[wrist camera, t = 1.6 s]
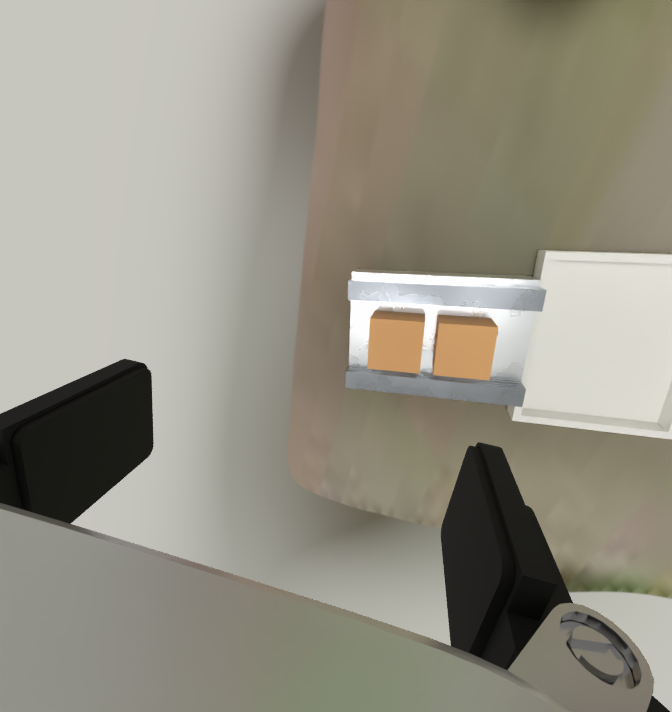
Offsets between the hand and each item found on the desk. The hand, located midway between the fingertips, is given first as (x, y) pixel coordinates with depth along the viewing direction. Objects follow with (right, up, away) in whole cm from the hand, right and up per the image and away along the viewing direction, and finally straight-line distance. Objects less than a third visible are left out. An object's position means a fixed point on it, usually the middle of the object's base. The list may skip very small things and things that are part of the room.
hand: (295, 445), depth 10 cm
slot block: (+10, +5, +22) cm, 24 cm away
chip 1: (+6, +4, +20) cm, 21 cm away
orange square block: (+11, +4, +19) cm, 22 cm away
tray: (+23, +4, +19) cm, 30 cm away
